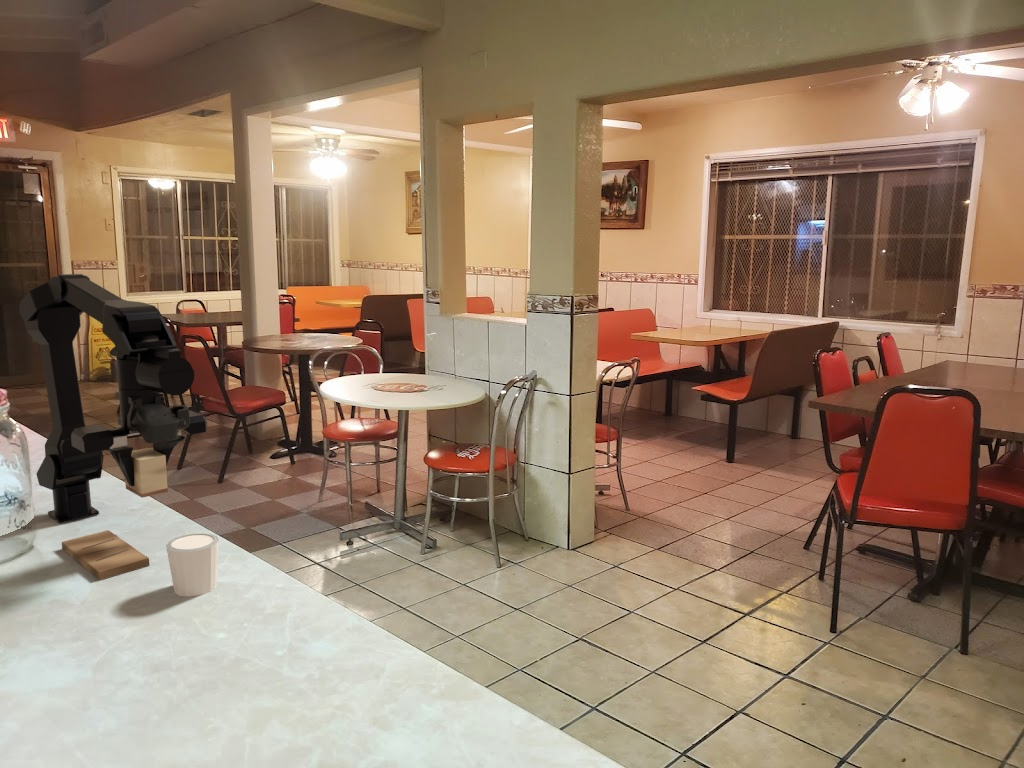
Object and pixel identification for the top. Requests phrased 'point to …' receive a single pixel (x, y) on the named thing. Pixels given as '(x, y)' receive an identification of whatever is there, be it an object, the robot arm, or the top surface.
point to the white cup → (193, 563)
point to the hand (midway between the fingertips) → (145, 482)
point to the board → (105, 554)
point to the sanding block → (148, 473)
